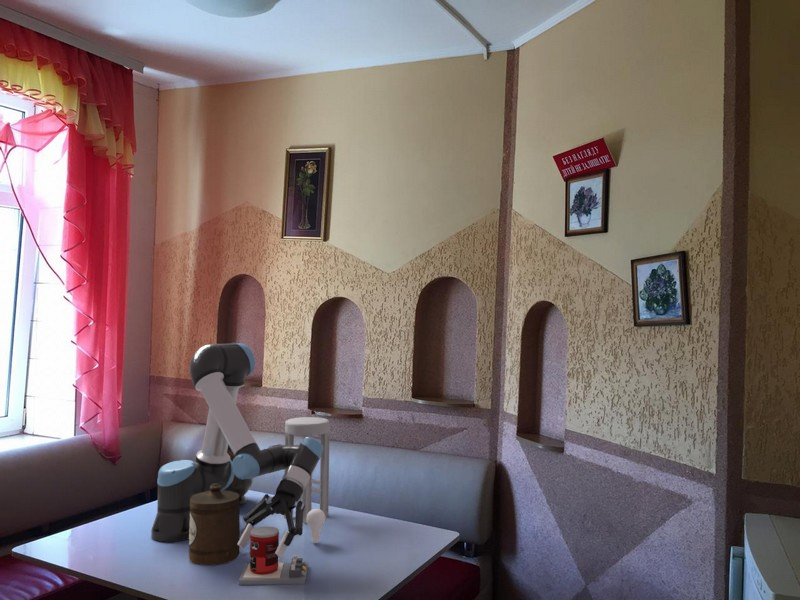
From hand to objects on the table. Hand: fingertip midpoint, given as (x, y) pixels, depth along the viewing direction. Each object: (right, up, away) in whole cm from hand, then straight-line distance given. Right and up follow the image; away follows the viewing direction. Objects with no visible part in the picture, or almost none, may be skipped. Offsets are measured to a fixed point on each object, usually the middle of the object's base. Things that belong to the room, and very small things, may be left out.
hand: (258, 551), depth 184 cm
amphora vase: (-28, -8, +68) cm, 74 cm away
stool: (+6, -9, +54) cm, 55 cm away
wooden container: (-17, -8, +16) cm, 24 cm away
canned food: (+1, -6, +2) cm, 7 cm away
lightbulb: (+12, -8, +28) cm, 31 cm away
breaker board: (+4, -8, +2) cm, 9 cm away
